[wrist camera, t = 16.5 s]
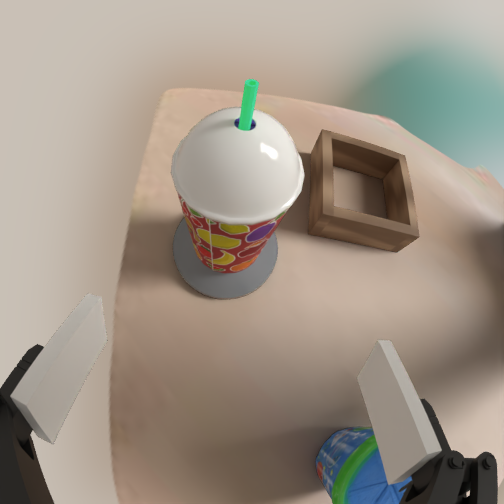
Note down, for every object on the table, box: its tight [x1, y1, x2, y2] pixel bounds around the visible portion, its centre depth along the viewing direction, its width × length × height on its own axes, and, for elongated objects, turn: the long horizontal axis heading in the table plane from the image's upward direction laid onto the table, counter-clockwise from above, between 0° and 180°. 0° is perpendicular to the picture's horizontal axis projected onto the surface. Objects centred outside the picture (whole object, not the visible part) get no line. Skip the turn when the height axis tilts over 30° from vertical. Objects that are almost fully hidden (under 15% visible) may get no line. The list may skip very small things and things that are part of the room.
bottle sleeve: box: [308, 129, 419, 252], centre depth 33 cm, size 12×12×5 cm
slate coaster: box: [173, 217, 278, 299], centre depth 31 cm, size 11×11×1 cm
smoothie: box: [171, 79, 304, 273], centre depth 21 cm, size 8×8×20 cm
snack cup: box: [316, 427, 412, 504], centre depth 20 cm, size 16×10×10 cm
